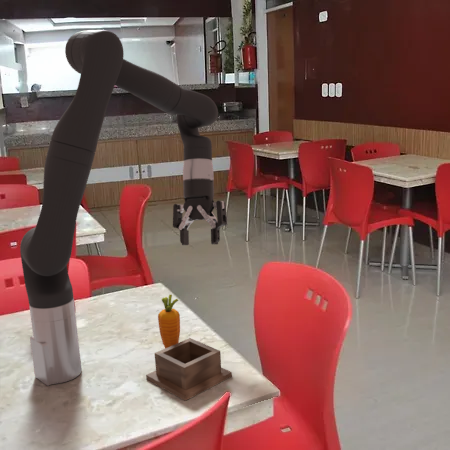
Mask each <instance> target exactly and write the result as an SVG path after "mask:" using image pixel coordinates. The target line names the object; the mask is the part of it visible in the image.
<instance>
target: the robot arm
mask: <svg viewBox="0 0 450 450" xmlns="http://www.w3.org/2000/svg"><path fill="white" fill-rule="evenodd" d="M64 52H65V58H66V60H67V62H68V65H69V66H70V67H71V68H72V70H74V71H75V72H76V73H78V74H80V77H79V80H78V85H77V88H76V92H75V94H74V96H73V99H72V101H71V102H70V104H69V105H68V107H67V108H66V110H65V111H64V112H63V114H62V115H61V117H60V119H59V120H58V121H57V123H56V125H55V127H54V129H53V131H52V134H51V138H50V141H49V144H48V149H47V153H46V156H45V162H44V169H43V182H42V183H43V188H42V189H43V191H42V204H41V210H40V212H39V215H38V218H37V222H36V225H35V227H32V228H30V229H29V230H28V231H27V232H26V233H25V234H24V235H23V237H22V239H21V241H20V245H19V246H20V248H19V250H20V251H19V252H20V260H21V266H22V267H21V268H22V274H23V279H24V286H25V287H24V288H25V291H26V294H27V299H28V300H27V301H28V304H29V313H30V323H31V327H32V328H31V329H32V335H31V336H29V340H30V349H31V356H32V365H33V371H34V377H35V378H36V379H37V380H39V381H40V382H42V383H43V384H45V385H46V386H50V385H55V384H63V383H66V382H69V381H72V380H73V379H75V378H77V377H78V376H79V375H80V374H81V373H82V368H83V367H82V359H81V353H80V343H79V333H78V326H77V317H76V315H77V314H76V313H75V309H76V305H75V306H74V302H75V299H74V289H73V286H72V282H71V279H70V276H69V270H67V264H68V262H69V263H70V261H69V260H71V257H72V253H73V252H72V251H73V243H74V237H75V231H76V230H75V229H76V223H77V219H78V215H79V211H80V207H81V204H82V203H81V202H82V201H83V197H84V194H85V190H86V188H87V184H88V179H89V176H90V173H91V170H92V167H93V163H94V159H95V155H96V151H97V146H98V143H99V142H98V141H99V137H100V134H101V130H102V127H103V124H104V120H105V115H106V112H107V109H108V105H109V102H110V98H111V96H112V94H113V91H114V89H115V87H117V88H119V89H122V90H123V91H125V92H128V93H129V94H131V95H133V96H134V97H136V98H139V99H140V100H141V101H144V102H146V103H147V104H149V105H151V106H153V107H154V108H157V109H158V110H160V111H162V112H164V113H166V114H169V115H172V116H173V115H174V116H176V117H175V118H176V124H177V128H178V132H179V136H180V139H181V141H182V144H183V146H182V147H183V167H182V180H183V181H182V183H183V184H182V187H183V188H182V189H183V192H182V193H183V194H182V195H183V200H184V202H183V204H179V203H174V204H173V206H172V207H173V208H172V228H175V229H177V230H179V242H180V244H181V245H182V246H189V245H190V239H189V237H190V235H189V228H190V226H191V224H193V223H194V221H206V222H207V223H208V224H209V226H210V227H211V228H210V242H211V243H210V244H211V245H219V243H220V241H221V237H220V235H221V234H220V229H221V228H222V227H225V226H227V225H228V219H227V217H228V216H227V205H226V201H224V200H217V201H215V200H214V197H215V184H214V183H215V181H214V180H215V179H214V177H215V176H214V175H215V174H214V165H213V149H212V148H213V146H212V140H211V139H210V138H209V137H208V136H204V135H200V132H199V128H205V127H208V126H210V125H212V124H214V123H215V122H216V120H217V118H218V116H219V111H218V106H217V105H216V103H215V101H214V100H212V98H211V97H209V96H208V95H206V94H203V93H201V92H198V91H195V90H191V89H187V88H183V87H181V86H180V85H178V84H177V83H175V82H174V81H172V80H170V79H168V78H167V77H165V76H164V75H161V74H160V73H157V72H155V71H152V70H149V69H147V68H145V67H142V66H140V65H137V64H135V63H133V62H130V61H128V60H127V59H125V58H124V56H125V55H124V46H123V44H122V41H121V40H120V37H118V35H117V34H116V33H114V32H113V31H110V30H105V29H86V30H82V31H77V32H76V33H74V34H72V35H71V36H70V37H69V38H68V39H67V41H66V45H65V50H64ZM214 209H215V210H216V215H215V214H214V212H213V211H214ZM184 212H185V213H184ZM183 213H184V214H183Z"/></svg>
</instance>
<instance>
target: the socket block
mask: <svg viewBox="0 0 450 450" xmlns="http://www.w3.org/2000/svg"><path fill="white" fill-rule="evenodd" d="M221 358H222V357H221V350H219V349H217V348H214V347H212V346H211V345H207V344H205V343H203V342H200V341H198V340H196V339H193V338H190V337H189V338H188V339H185V340H182V341H179V343H177V344H175V345H172V346H170V347H168V348H165V347H164V348H163V349H161V350H159V351H156V352H154V360H155V362H154V364H155V370H154V371H152V372H149V373H147V374H146V375H145V376H146V377H145V378H146V380H147V381H149V382H151V383H152V384H155V385H156V386H158V387H160V388H162V389H164V390H165V391H167V392H169V393H170V394H173V395H174V396H175V397H178V398H179V399H181V400H183V401H184V402H185V401H187V400H190V399H191V398H193V397H195V396H197V395H199V394H201V393H203V392H205V391H207V390H209V389H211V388H212V387H214V386H216V385H218V384H220V383H222V382H223V381H226V380H228V379H230V378H232V377H233V372H232V371H229V370H228V369H226V368H223V367H222V359H221Z"/></svg>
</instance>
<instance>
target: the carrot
mask: <svg viewBox="0 0 450 450" xmlns="http://www.w3.org/2000/svg"><path fill="white" fill-rule="evenodd" d="M172 299H173V295H172V294H169V295H168V297H167V296H165V297H162V298H161V302H162V304H163V305H164V308H163V309H162V310H161V311H160V312H159V313H158V314H157V320H158V321H157V322H158V328H159V334H160V338H161V342H162V345H163V346H164V349H165V348H168V347H170V346H172V345H175V344H177V343H180V335H181V334H180V333H181V319H180V318H181V316H180V313H179V311H178V310H177V309H175V308H173V307H174V305H175V304H176V303H177V302H179V299H178V298H176V299H173V300H172Z"/></svg>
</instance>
